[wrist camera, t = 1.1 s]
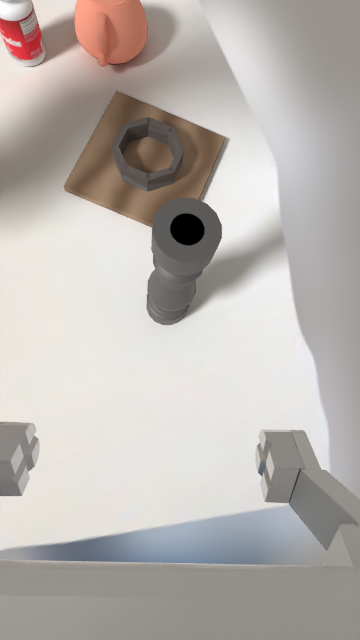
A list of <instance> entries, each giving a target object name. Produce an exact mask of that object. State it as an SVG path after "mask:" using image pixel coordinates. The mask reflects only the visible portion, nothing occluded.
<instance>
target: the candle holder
mask: <svg viewBox="0 0 360 640" xmlns="http://www.w3.org/2000/svg"><path fill="white" fill-rule="evenodd" d="M221 238H222V225H221V223H220V220H219V218H218V216H217V214H216V212H215V211H214V210H213V209H212V208H211V207H210V206H209V205H208V204H206V203H204V202H202V201H199V200H197V199H195V198H185V197H180V198H177V199H174V200H170V201H168V202H167V203H165V204H164V205H163V206H162V207H161V208H159V209H158V211H157V213H156V215H155V217H154V219H153V225H152V247H151V250H152V252H153V264H154V266H155V270H154V271H153V272H152V273H151V275H150V278H149V280H148V294H147V310H148V313H149V316H150V317H151V318H152V319H153V320H154V321H155V322H157V323H160V324H162V325H172V324H174V323H177V322H178V321H180V320H181V319H182V318H183V317H184V315H185V313H186V311H187V309H188V306H189V303H191V301H192V299H193V297H194V295H195V293H196V283H195V279H196V278H198V277H199V276H200V275H201V273H202V271H203V269H204V268H205V267H206V266H207V265H208V264H209V263H210V261H211V259H212V257H213V255H214V253H215V251H216V250H217V247H218V245H219V243H220V241H221Z"/></svg>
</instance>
